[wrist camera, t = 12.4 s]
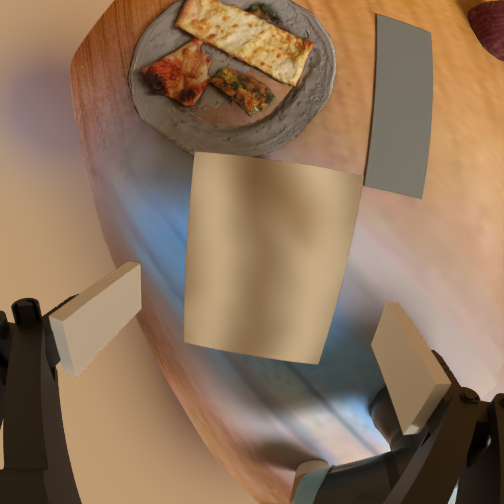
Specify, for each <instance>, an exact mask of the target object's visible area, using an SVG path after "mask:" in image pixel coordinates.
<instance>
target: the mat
mask: <svg viewBox="0 0 504 504" xmlns="http://www.w3.org/2000/svg"><path fill="white" fill-rule="evenodd" d="M432 99H433V60H432V40H431V33H429V32H427V31H425V30H422V29H419V28H417V27H414V26H412V25H409V24H406V23H403V22H400V21H397V20H394V19H391V18H388V17H385V16H381V15H378V14H377V53H376V78H375V94H374V107H373V118H372V128H371V137H370V146H369V153H368V161H367V168H366V175H365V181H364V186H366V187H371V188H376V189H381V190H385V191H389V192H394V193H398V194H402V195H406V196H411V197H415V198H419V199H422V195H423V189H424V183H425V176H426V169H427V162H428V153H429V144H430V133H431V120H432Z"/></svg>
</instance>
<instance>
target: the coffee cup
mask: <svg viewBox="0 0 504 504" xmlns="http://www.w3.org/2000/svg"><path fill="white" fill-rule="evenodd" d="M328 467H330V466H329V464H328V463H327V462H325V461H321V460H311V461H306V462H303V463H301V464H300V465H299V466H298V468H297V470H296V474H295V479H294V484H293V489H292V494H291V498H290V503H289V504H294V499H295V494H296V490H297V487H298V485H299V483H300V481H301V479H302V478H303V477H304V476H305V475H306V474H307V473H309V472H312V471H316V470H320V469H325V468H328Z"/></svg>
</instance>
